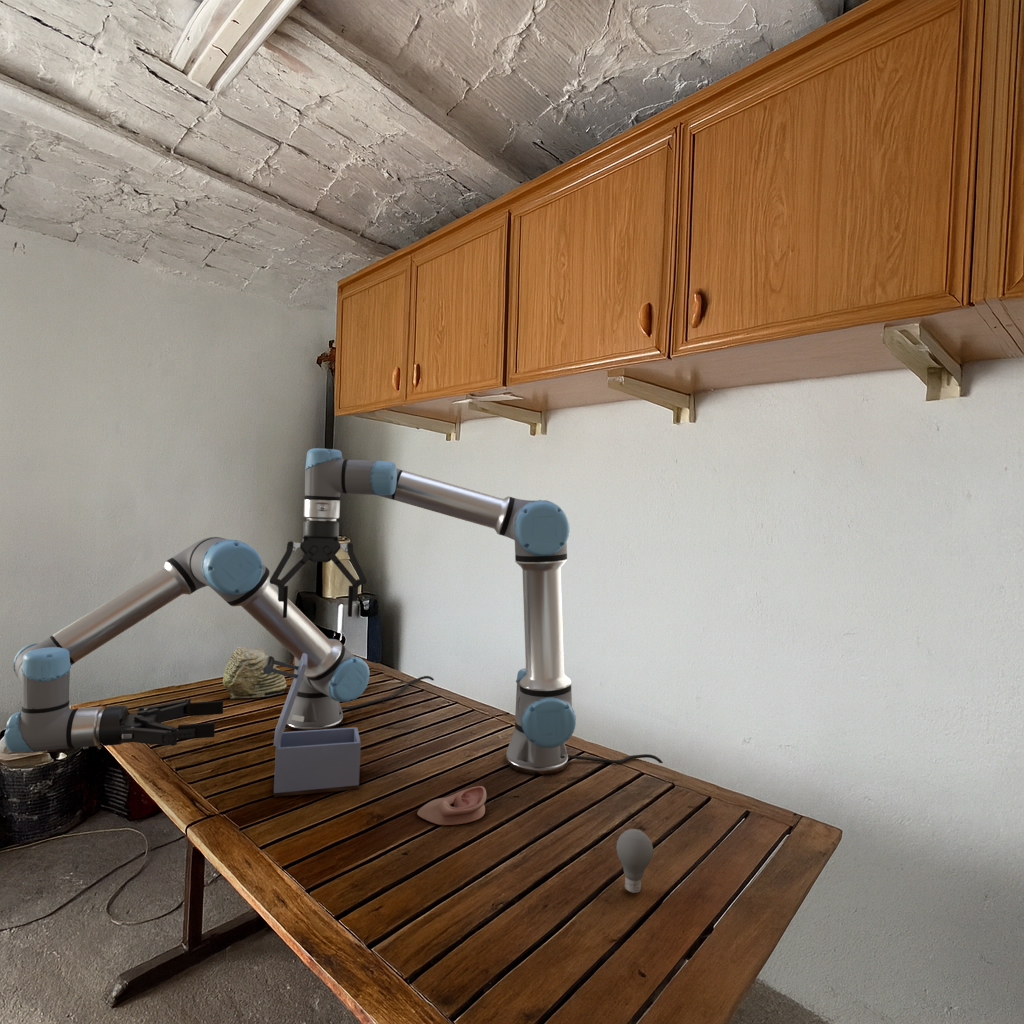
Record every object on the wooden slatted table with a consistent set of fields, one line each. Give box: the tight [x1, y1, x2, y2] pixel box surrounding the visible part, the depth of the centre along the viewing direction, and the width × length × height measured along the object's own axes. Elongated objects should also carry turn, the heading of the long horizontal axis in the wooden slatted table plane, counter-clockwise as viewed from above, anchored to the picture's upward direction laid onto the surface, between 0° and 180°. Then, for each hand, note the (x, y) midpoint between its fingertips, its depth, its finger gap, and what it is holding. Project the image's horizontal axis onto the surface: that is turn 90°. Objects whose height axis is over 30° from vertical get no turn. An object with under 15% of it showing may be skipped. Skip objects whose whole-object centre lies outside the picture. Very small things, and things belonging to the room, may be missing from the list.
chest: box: [273, 726, 362, 798], centre depth 140 cm, size 17×10×10 cm, turn 108°
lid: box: [263, 653, 307, 747], centre depth 137 cm, size 18×10×8 cm
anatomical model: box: [416, 785, 488, 826], centre depth 129 cm, size 13×4×12 cm
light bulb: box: [615, 828, 654, 894], centre depth 106 cm, size 6×6×10 cm
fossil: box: [222, 646, 288, 699], centre depth 198 cm, size 9×18×15 cm, turn 132°
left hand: (219, 717), depth 133 cm, fingers open, 13 cm apart
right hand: (317, 616), depth 139 cm, fingers open, 13 cm apart
